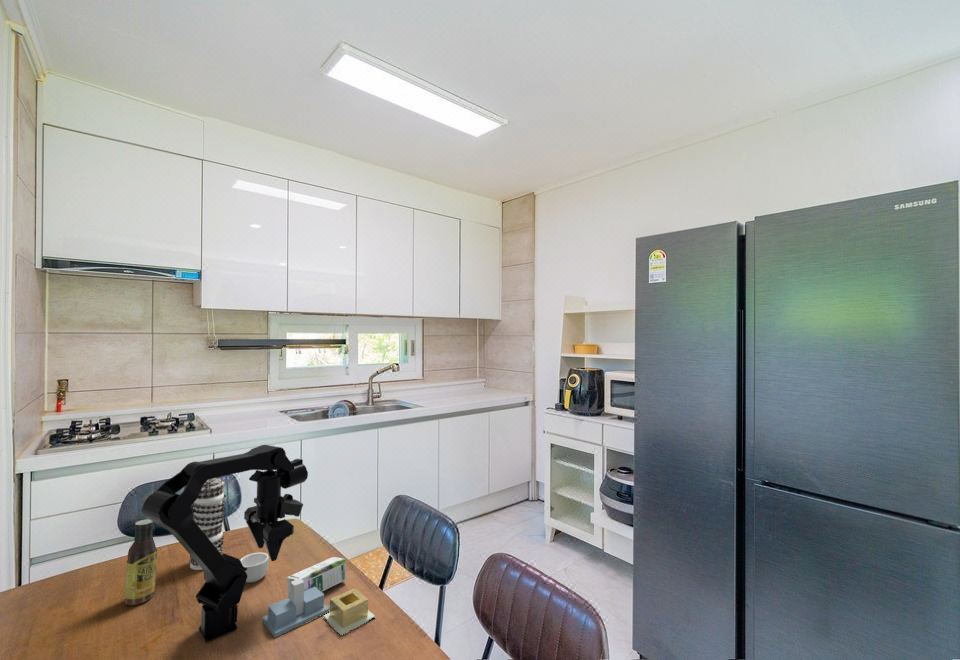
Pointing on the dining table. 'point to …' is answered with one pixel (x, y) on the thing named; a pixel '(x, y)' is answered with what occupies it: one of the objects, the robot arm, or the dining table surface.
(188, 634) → the dining table surface
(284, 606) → the blue stepped base
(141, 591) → the sauce bottle
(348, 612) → the brass collar
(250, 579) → the teacup
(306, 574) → the syrup box
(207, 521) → the white patterned cylinder
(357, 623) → the off-white board
